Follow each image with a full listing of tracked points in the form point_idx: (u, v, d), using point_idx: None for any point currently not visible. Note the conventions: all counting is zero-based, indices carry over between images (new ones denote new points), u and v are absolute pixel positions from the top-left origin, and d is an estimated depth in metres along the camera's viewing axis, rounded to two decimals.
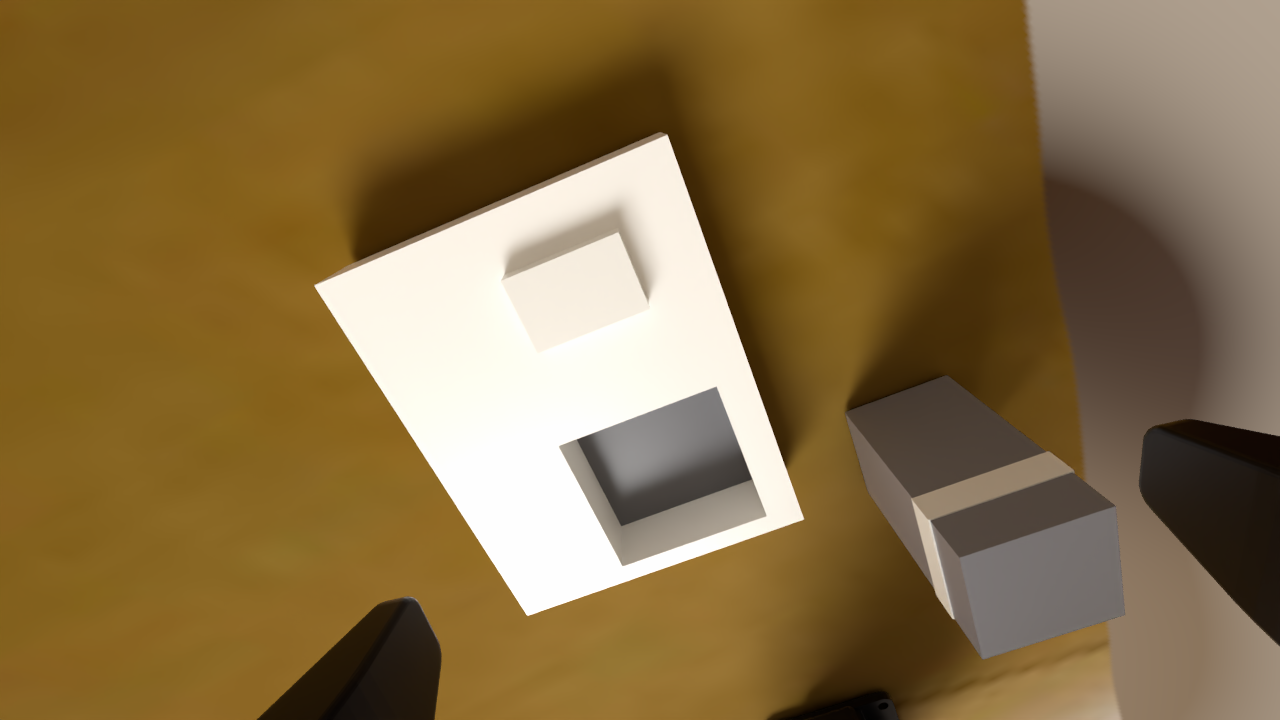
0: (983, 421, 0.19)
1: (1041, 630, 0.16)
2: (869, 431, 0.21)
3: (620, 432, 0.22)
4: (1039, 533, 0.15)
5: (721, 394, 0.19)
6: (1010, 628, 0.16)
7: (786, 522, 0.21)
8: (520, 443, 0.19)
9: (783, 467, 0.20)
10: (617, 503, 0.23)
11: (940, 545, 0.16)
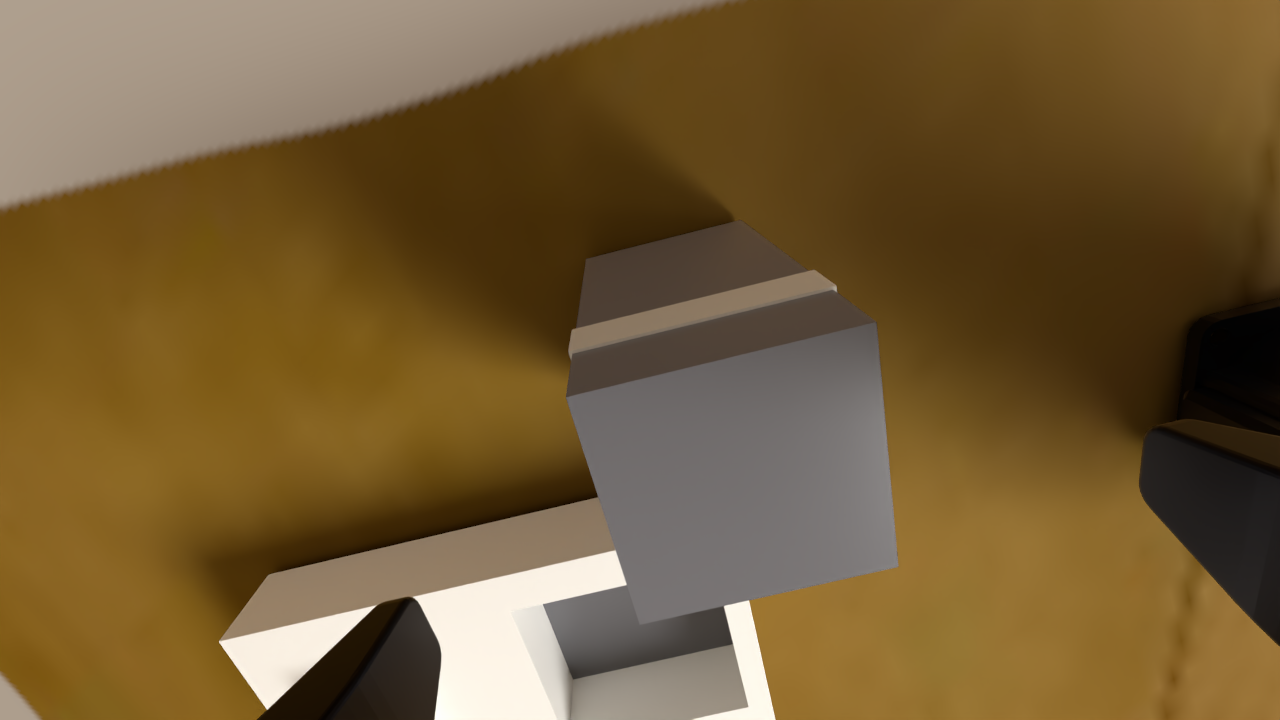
0: None
1: (860, 478, 0.08)
2: None
3: (605, 635, 0.19)
4: (612, 513, 0.08)
5: (521, 608, 0.16)
6: (835, 532, 0.09)
7: None
8: None
9: None
10: (700, 645, 0.20)
11: None
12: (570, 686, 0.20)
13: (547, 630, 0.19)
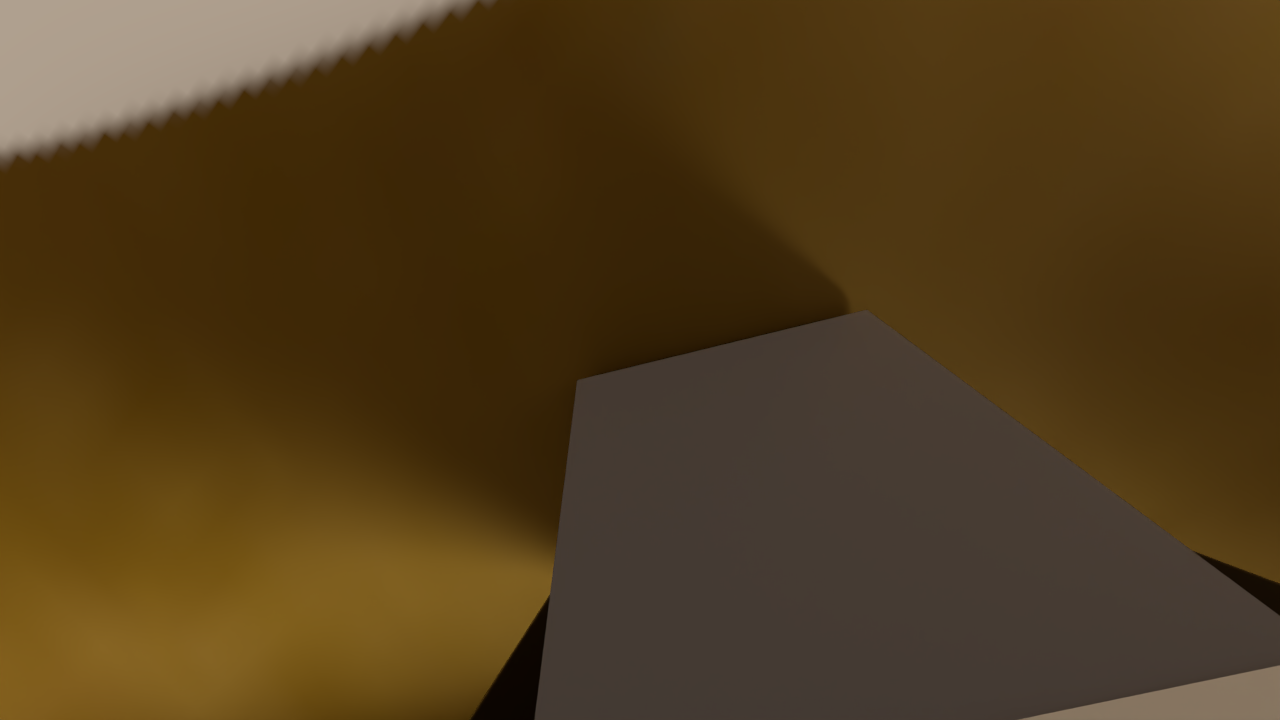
0: None
1: None
2: None
3: None
4: None
5: None
6: None
7: None
8: None
9: None
10: None
11: None
12: None
13: None
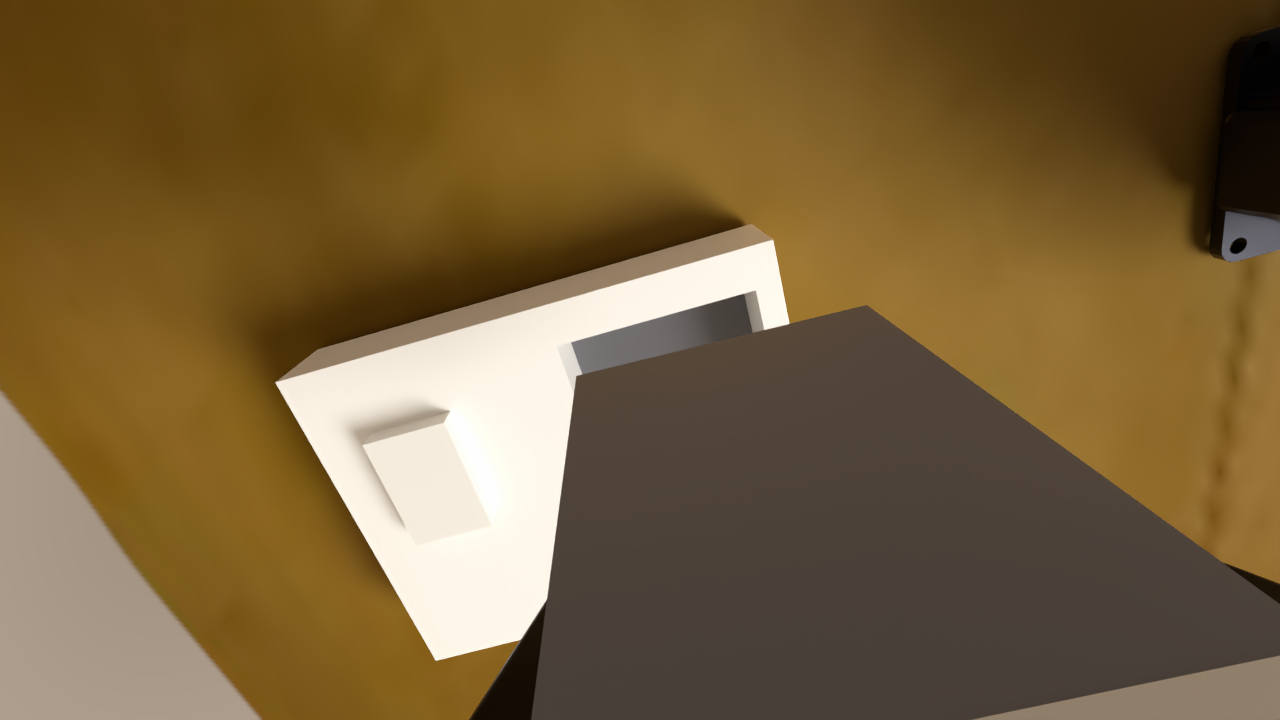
0: None
1: None
2: None
3: None
4: None
5: (567, 342, 0.16)
6: None
7: (773, 263, 0.15)
8: None
9: (682, 268, 0.15)
10: None
11: None
12: None
13: None
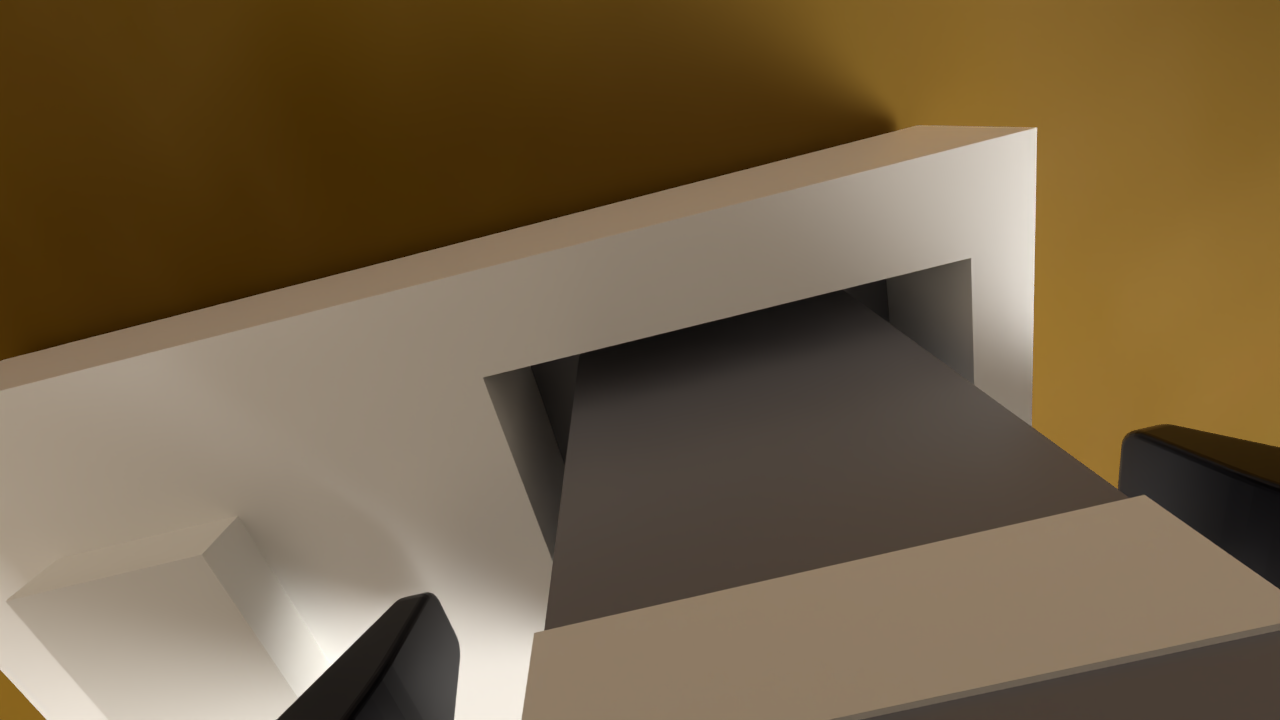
0: None
1: None
2: None
3: None
4: None
5: (507, 368, 0.07)
6: None
7: (1025, 190, 0.06)
8: None
9: (801, 193, 0.06)
10: None
11: None
12: None
13: None
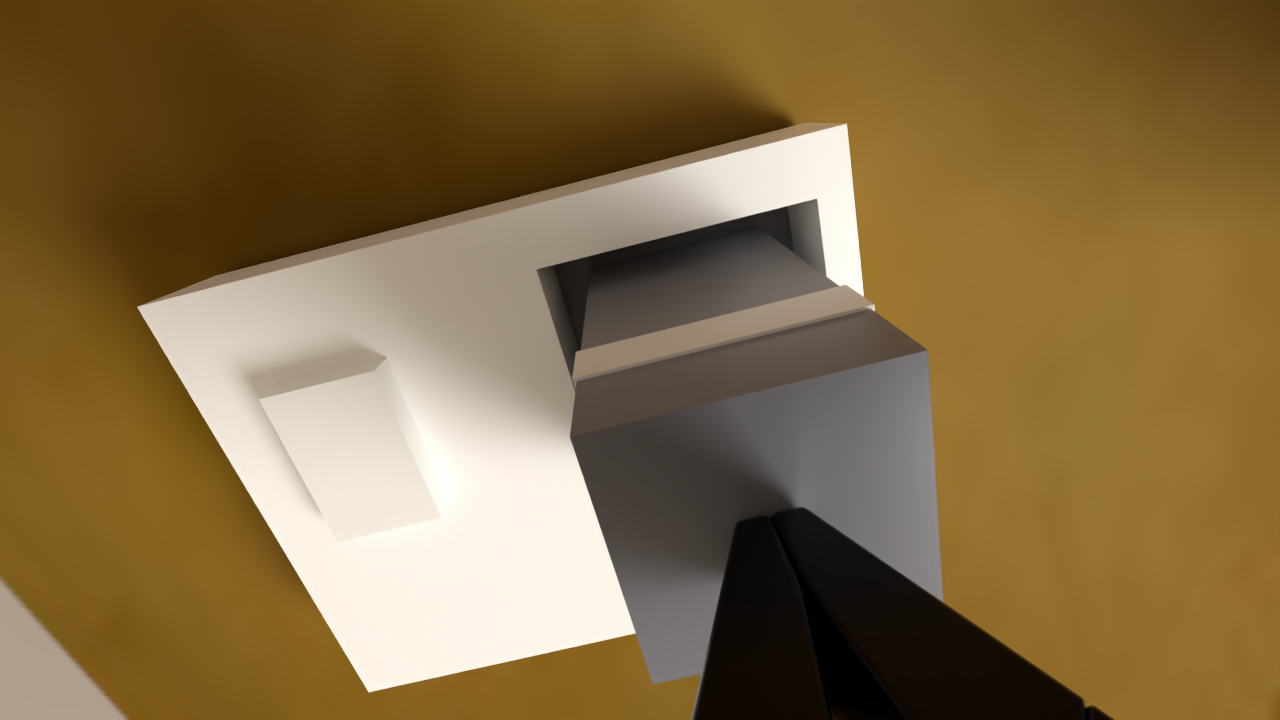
0: None
1: (904, 524, 0.07)
2: None
3: None
4: (622, 564, 0.07)
5: (551, 263, 0.11)
6: None
7: (844, 159, 0.11)
8: (597, 541, 0.14)
9: (717, 160, 0.11)
10: None
11: None
12: None
13: None
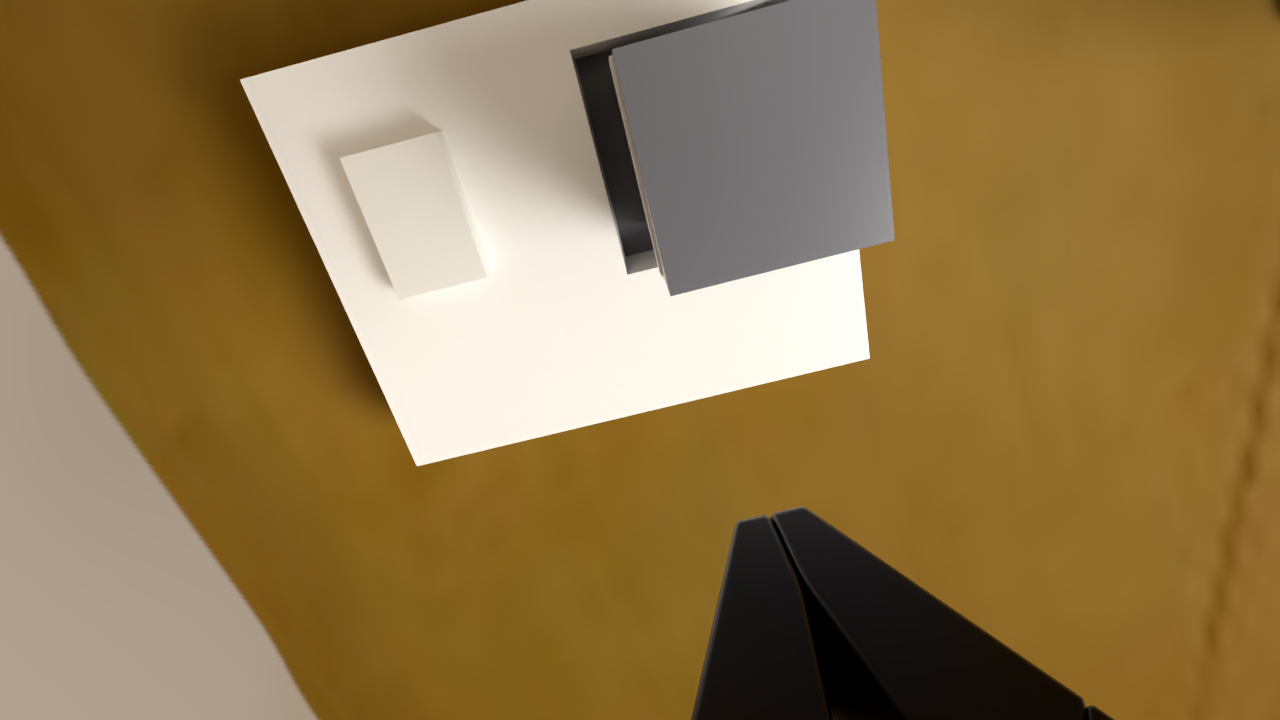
0: None
1: (861, 143, 0.10)
2: (646, 222, 0.16)
3: None
4: (649, 175, 0.10)
5: (582, 44, 0.14)
6: (839, 200, 0.10)
7: None
8: (616, 317, 0.16)
9: None
10: None
11: None
12: (624, 252, 0.18)
13: (601, 163, 0.17)
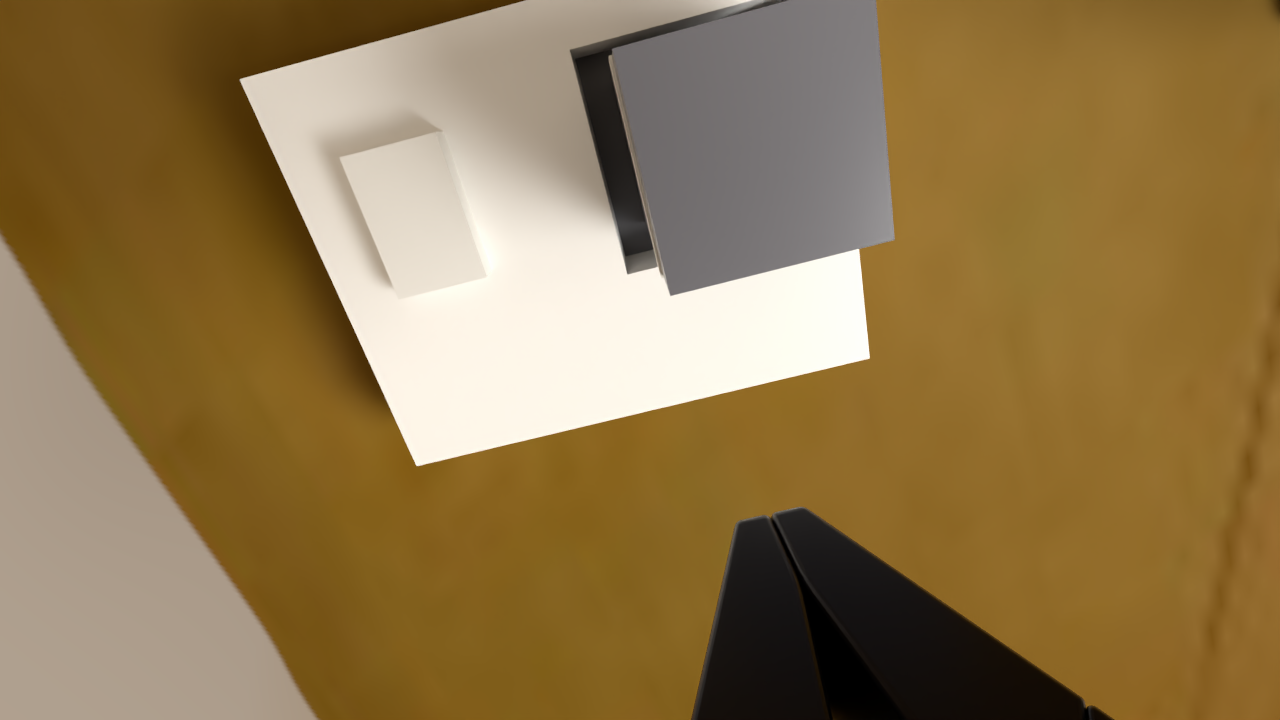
0: None
1: (861, 142, 0.10)
2: (646, 222, 0.16)
3: None
4: (648, 174, 0.10)
5: (582, 43, 0.14)
6: (839, 200, 0.10)
7: None
8: (616, 316, 0.16)
9: None
10: None
11: None
12: (624, 252, 0.18)
13: (601, 163, 0.17)
